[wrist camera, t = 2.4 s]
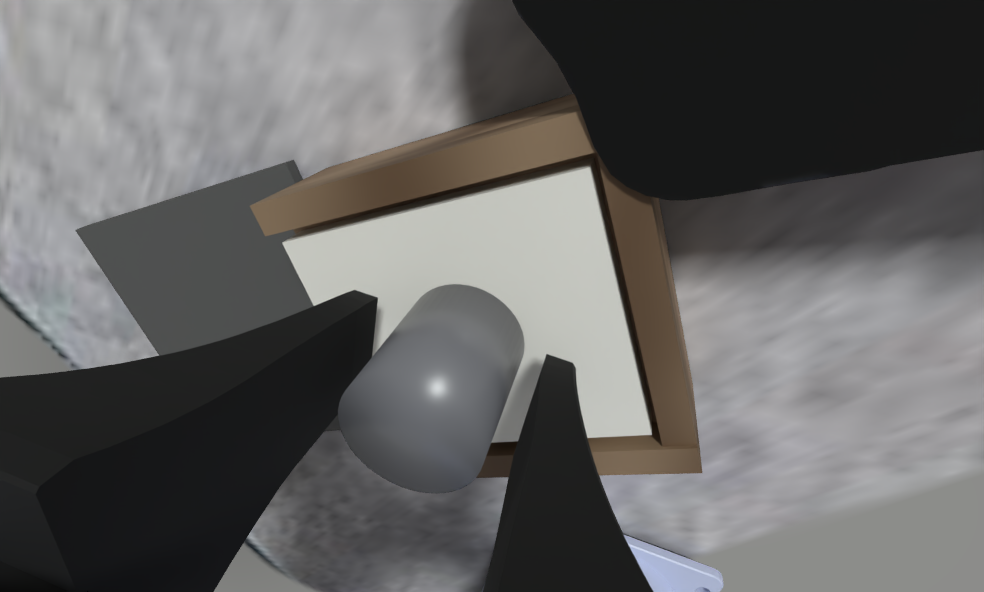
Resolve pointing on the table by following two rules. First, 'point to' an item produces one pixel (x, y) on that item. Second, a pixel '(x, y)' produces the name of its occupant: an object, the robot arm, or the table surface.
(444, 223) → the cover plate
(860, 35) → the black sponge
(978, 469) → the table surface
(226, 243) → the rubber mat
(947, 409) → the table surface
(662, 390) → the walnut case
